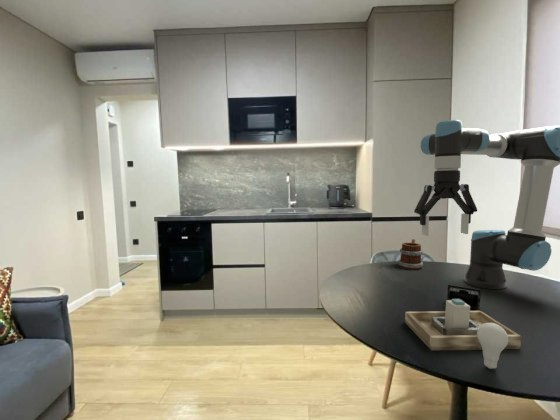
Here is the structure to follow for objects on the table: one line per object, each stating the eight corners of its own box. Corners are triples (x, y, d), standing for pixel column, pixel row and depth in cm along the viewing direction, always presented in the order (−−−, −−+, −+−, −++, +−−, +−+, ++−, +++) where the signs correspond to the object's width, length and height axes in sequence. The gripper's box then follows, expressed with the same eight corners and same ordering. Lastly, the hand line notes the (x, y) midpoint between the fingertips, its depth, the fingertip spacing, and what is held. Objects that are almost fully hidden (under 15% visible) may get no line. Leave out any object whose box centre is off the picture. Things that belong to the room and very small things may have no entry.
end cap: (479, 305, 111) (480, 287, 111) (479, 313, 105) (481, 293, 105) (447, 300, 116) (448, 282, 116) (446, 306, 110) (447, 288, 110)
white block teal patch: (459, 325, 94) (460, 297, 93) (468, 333, 89) (470, 303, 88) (444, 326, 93) (446, 297, 93) (453, 333, 89) (455, 303, 88)
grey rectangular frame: (466, 322, 96) (466, 316, 96) (484, 336, 87) (485, 329, 87) (429, 323, 95) (429, 316, 95) (444, 337, 87) (445, 330, 87)
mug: (395, 268, 156) (397, 238, 157) (399, 266, 169) (401, 238, 169) (421, 271, 151) (423, 240, 151) (423, 269, 163) (425, 240, 164)
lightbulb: (469, 361, 77) (471, 318, 76) (492, 360, 78) (495, 317, 77) (487, 376, 71) (490, 330, 70) (512, 375, 72) (516, 329, 71)
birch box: (479, 321, 99) (480, 310, 98) (520, 348, 83) (521, 336, 83) (405, 322, 98) (405, 311, 98) (431, 350, 82) (432, 337, 82)
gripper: (475, 169, 106) (472, 230, 109) (404, 170, 105) (403, 233, 107) (492, 168, 99) (488, 234, 101) (415, 170, 97) (414, 237, 100)
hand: (444, 234), depth 104 cm, fingers open, 13 cm apart
